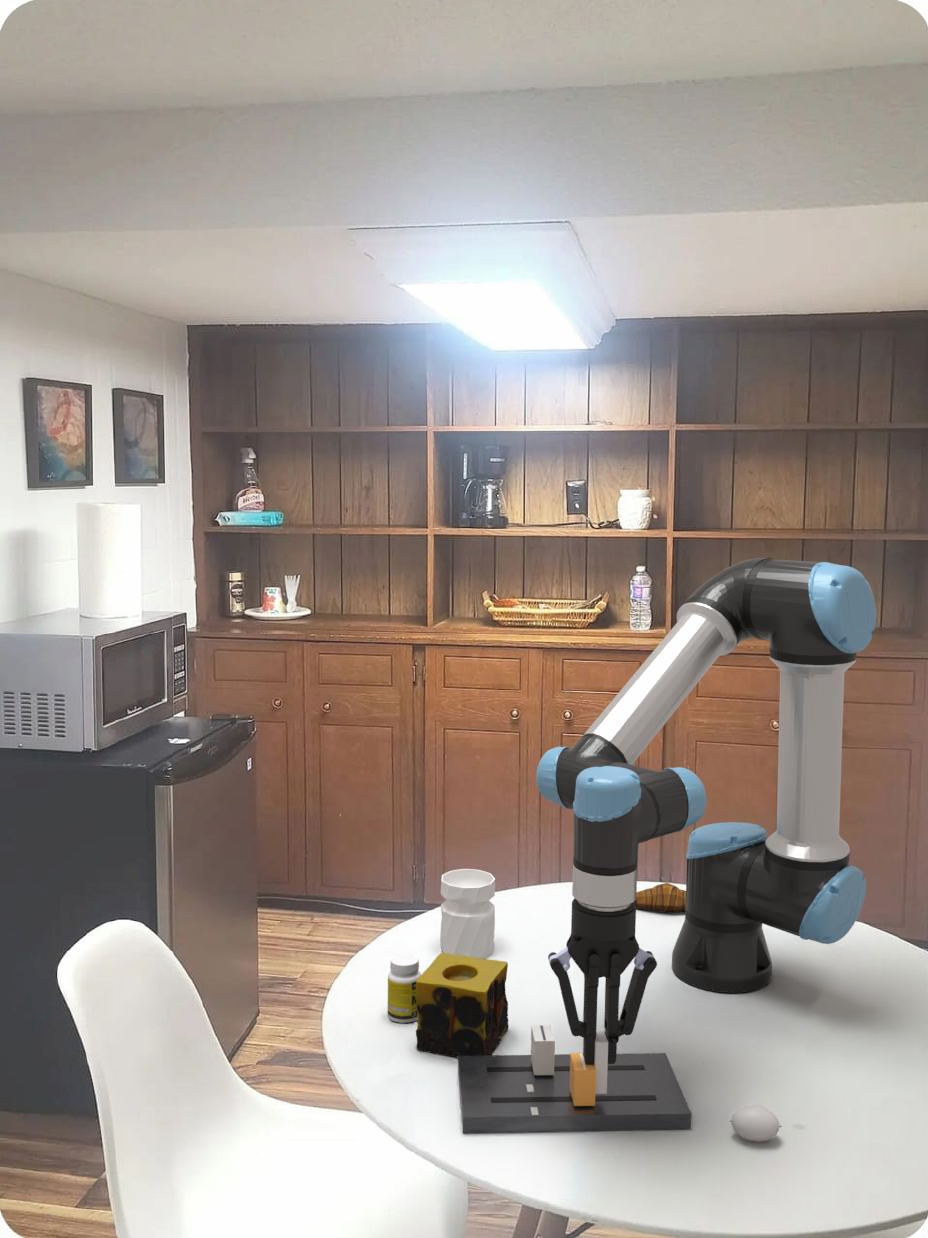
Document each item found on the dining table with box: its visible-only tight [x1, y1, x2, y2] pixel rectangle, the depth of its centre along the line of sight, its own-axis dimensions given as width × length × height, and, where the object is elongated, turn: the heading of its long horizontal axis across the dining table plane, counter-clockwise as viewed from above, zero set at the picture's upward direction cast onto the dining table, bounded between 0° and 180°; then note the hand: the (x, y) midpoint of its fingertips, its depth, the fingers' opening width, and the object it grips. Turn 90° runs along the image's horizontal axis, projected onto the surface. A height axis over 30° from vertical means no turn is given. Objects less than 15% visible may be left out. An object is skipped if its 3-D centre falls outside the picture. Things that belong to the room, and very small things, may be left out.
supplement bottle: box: [387, 953, 422, 1024], centre depth 162 cm, size 5×5×8 cm
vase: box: [440, 868, 496, 959], centre depth 184 cm, size 9×9×12 cm
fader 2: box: [569, 1052, 596, 1106], centre depth 138 cm, size 2×4×5 cm, turn 3°
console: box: [457, 1052, 693, 1134], centre depth 142 cm, size 27×14×2 cm, turn 93°
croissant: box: [634, 882, 686, 914], centre depth 202 cm, size 14×7×5 cm, turn 83°
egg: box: [728, 1105, 782, 1143], centre depth 134 cm, size 4×6×4 cm, turn 80°
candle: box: [415, 952, 510, 1058], centre depth 155 cm, size 10×10×10 cm
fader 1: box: [530, 1024, 556, 1075], centre depth 145 cm, size 2×4×5 cm, turn 3°
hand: (598, 1087), depth 138 cm, fingers closed
